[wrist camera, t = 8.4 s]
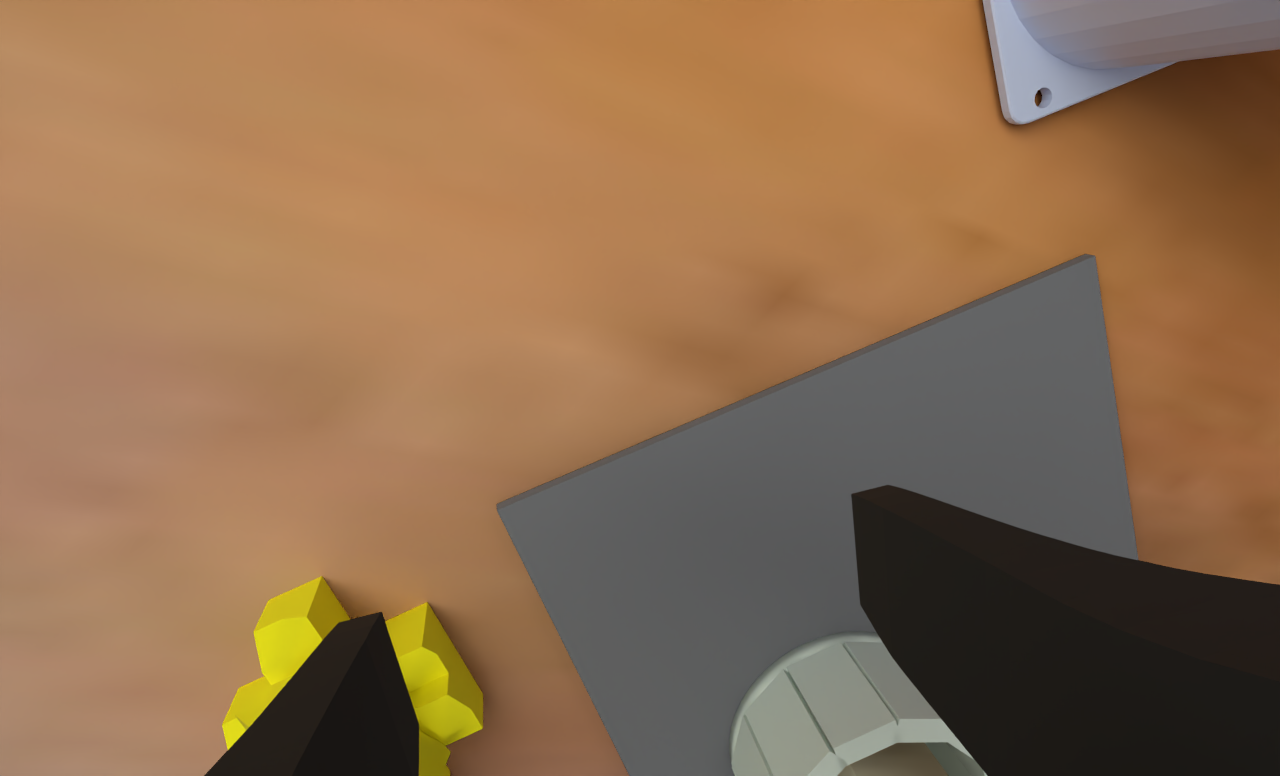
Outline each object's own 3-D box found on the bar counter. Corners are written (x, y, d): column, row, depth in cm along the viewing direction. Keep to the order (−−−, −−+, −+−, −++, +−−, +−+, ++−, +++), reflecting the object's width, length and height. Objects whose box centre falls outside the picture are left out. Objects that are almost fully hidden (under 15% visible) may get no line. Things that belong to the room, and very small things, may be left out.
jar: (910, 596, 25) (987, 677, 21) (955, 757, 28) (1031, 856, 24) (699, 691, 25) (739, 791, 21) (766, 846, 27) (812, 961, 23)
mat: (1085, 254, 23) (1094, 255, 23) (1146, 672, 29) (1155, 679, 28) (496, 504, 22) (496, 510, 21) (687, 887, 28) (690, 897, 27)
